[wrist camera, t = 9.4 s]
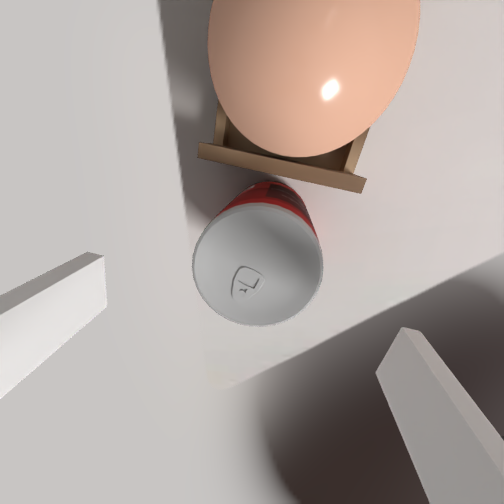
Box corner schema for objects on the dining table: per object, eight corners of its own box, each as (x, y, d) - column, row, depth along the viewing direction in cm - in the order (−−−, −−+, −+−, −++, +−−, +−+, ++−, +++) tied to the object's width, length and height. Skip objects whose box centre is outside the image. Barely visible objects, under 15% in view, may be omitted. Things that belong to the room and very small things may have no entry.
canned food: (225, 249, 25) (185, 313, 15) (236, 172, 22) (196, 190, 12) (295, 264, 25) (301, 341, 15) (317, 189, 22) (345, 222, 12)
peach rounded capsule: (258, 32, 17) (221, -127, 7) (360, 52, 17) (467, -87, 7) (240, 144, 21) (198, 137, 11) (327, 162, 20) (368, 173, 10)
